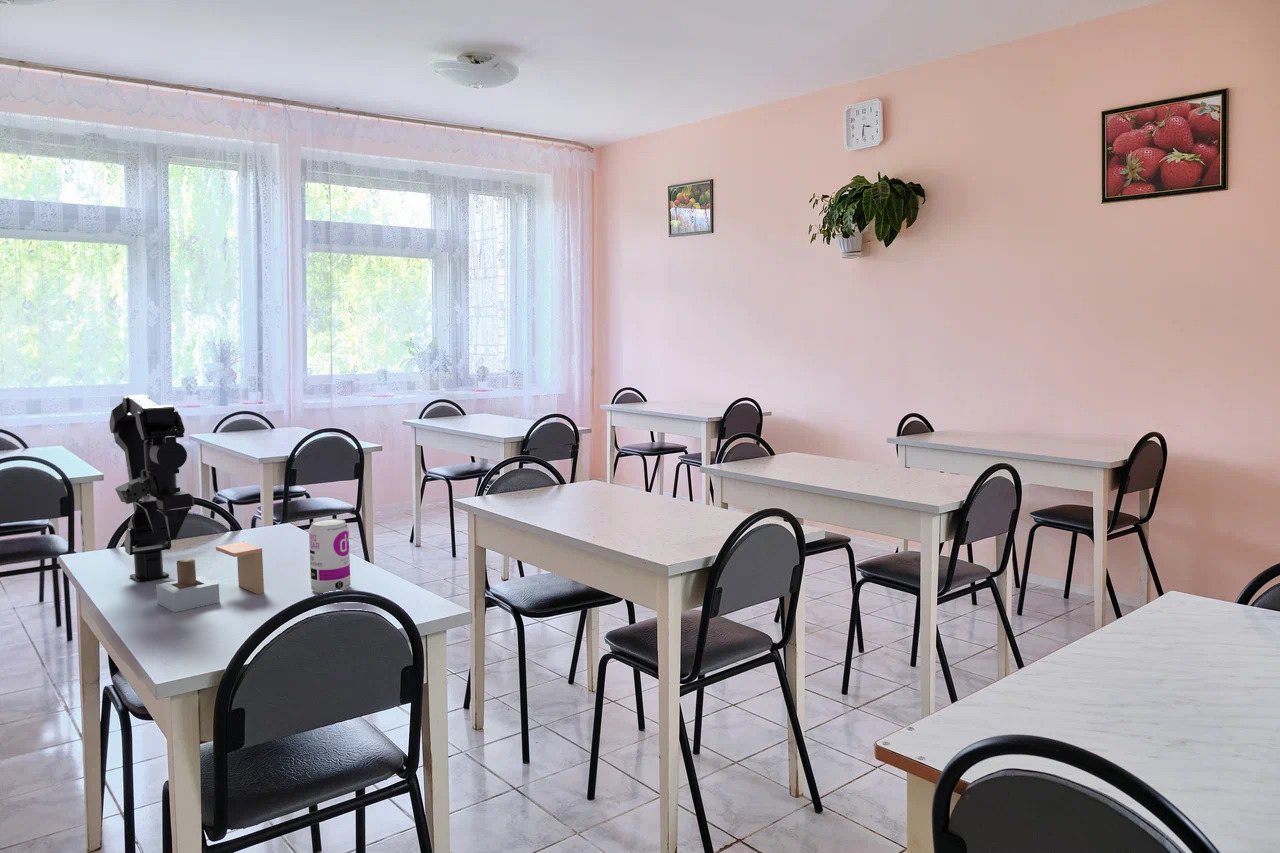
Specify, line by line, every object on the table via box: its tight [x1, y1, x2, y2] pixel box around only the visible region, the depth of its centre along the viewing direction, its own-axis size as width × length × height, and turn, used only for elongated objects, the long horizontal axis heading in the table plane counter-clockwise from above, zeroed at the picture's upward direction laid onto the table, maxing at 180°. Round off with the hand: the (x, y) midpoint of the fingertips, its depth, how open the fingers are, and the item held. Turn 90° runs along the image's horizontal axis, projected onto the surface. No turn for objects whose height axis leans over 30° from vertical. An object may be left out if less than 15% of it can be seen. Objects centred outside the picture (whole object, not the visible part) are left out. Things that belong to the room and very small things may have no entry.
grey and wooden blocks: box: [155, 541, 265, 613], centre depth 192 cm, size 9×18×10 cm, turn 138°
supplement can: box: [308, 518, 351, 594], centre depth 198 cm, size 8×8×15 cm
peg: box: [176, 558, 197, 589], centre depth 189 cm, size 3×3×9 cm
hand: (164, 536), depth 195 cm, fingers open, 9 cm apart
